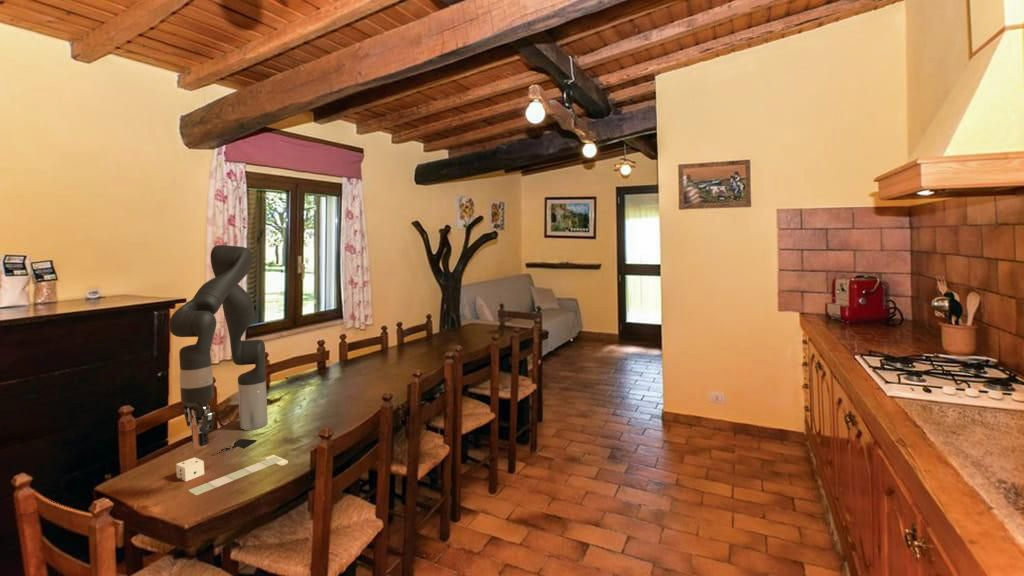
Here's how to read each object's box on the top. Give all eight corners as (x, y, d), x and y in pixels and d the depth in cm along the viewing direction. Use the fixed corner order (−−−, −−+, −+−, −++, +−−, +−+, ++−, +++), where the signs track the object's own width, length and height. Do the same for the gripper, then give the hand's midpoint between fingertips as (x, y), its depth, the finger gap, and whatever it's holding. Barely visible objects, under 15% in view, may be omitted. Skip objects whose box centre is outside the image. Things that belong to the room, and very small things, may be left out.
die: (176, 480, 135) (175, 463, 134) (195, 473, 139) (194, 456, 139) (185, 485, 132) (184, 467, 132) (204, 477, 137) (203, 460, 136)
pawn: (190, 447, 127) (188, 415, 126) (204, 442, 130) (202, 411, 129) (196, 450, 125) (194, 417, 125) (210, 445, 128) (208, 413, 128)
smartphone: (206, 458, 149) (240, 438, 164) (206, 460, 149) (240, 440, 164) (226, 459, 148) (258, 440, 162) (226, 461, 148) (258, 441, 163)
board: (182, 492, 128) (182, 489, 128) (273, 457, 150) (273, 454, 150) (196, 501, 124) (196, 498, 124) (287, 463, 146) (287, 460, 146)
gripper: (224, 383, 126) (227, 444, 127) (199, 375, 133) (203, 433, 135) (193, 391, 119) (197, 455, 121) (169, 382, 127) (173, 442, 128)
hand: (200, 443), depth 128 cm, fingers closed on pawn, 3 cm apart
